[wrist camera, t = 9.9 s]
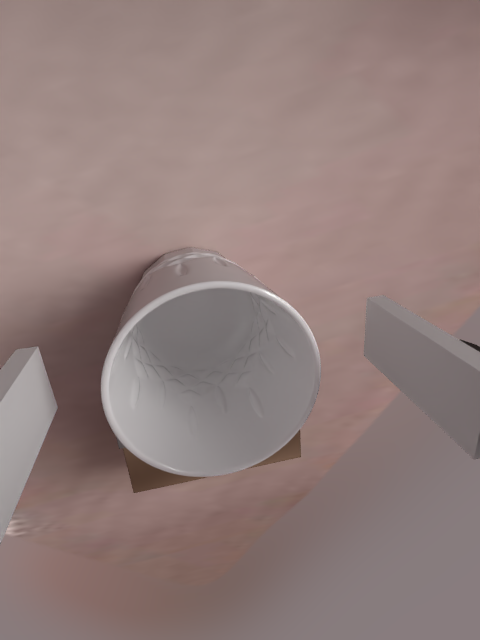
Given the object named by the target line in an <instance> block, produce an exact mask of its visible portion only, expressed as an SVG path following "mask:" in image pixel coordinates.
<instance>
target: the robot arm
mask: <svg viewBox="0 0 480 640" xmlns="http://www.w3.org/2000/svg"><path fill="white" fill-rule="evenodd" d="M364 356H365V357H366V358H367V359H368V360H369V361H370V362H371V363H372V364H373V365H374V366H375V367H376V368H378V369H379V370H380V371H381V372H382V373H383V374H384V375H385V376H386V377H387V378H388V379H389V380H390V381H391V382H392V383H393V384H394V385H396V386H397V387H398V388H399V389H400V390H401V391H402V392H403V393H404V394H405V395H406V396H407V397H408V398H409V399H410V400H411V401H413V402H414V403H415V404H416V405H417V406H418V407H419V408H420V409H421V410H422V411H423V412H424V413H425V414H426V415H427V416H428V417H429V418H430V419H432V420H433V421H434V422H435V423H436V424H437V425H438V426H439V427H440V428H441V429H442V430H443V431H444V432H445V433H446V434H448V435H449V436H450V437H451V438H452V439H453V440H454V441H455V442H456V443H457V444H458V445H459V446H460V447H461V448H462V449H463V450H465V452H466V453H467V454H469V455H470V456H471V457H472V458H473V459H478V458H480V347H479V346H477V345H475V344H472V343H469V342H466V341H463V340H458V339H457V338H455V337H453V336H452V335H450V334H448V333H447V332H445V331H443V330H442V329H440V328H438V327H436V326H435V325H433V324H431V323H430V322H428V321H426V320H425V319H423V318H421V317H420V316H418V315H416V314H414V313H413V312H411V311H409V310H408V309H406V308H404V307H403V306H401V305H399V304H398V303H396V302H394V301H392V300H391V299H389V298H387V297H386V296H384V295H383V296H376V297H369V298H367V305H366V323H365V341H364ZM57 408H58V407H57V404H56V401H55V397H54V394H53V391H52V388H51V385H50V382H49V379H48V376H47V373H46V369H45V366H44V363H43V360H42V357H41V354H40V351H39V348H38V346H36V347H30V348H23V349H16V350H15V352H14V353H13V354H12V355H11V357H10V358H9V359H8V361H7V362H6V363H5V364H4V366H3V367H2V368H1V370H0V544H1V541H2V539H3V537H4V534H5V532H6V530H7V527H8V525H9V522H10V520H11V518H12V515H13V513H14V510H15V508H16V506H17V503H18V501H19V499H20V496H21V494H22V491H23V489H24V487H25V484H26V482H27V480H28V477H29V475H30V472H31V470H32V468H33V465H34V463H35V461H36V458H37V456H38V453H39V451H40V449H41V446H42V444H43V441H44V439H45V437H46V434H47V432H48V430H49V427H50V425H51V422H52V420H53V418H54V415H55V413H56V411H57Z"/></svg>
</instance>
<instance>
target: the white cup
mask: <svg viewBox="0 0 480 640" xmlns="http://www.w3.org/2000/svg"><path fill="white" fill-rule="evenodd" d="M320 378H321V362H320V355H319V350H318V347H317V343H316V341H315V338H314V336H313V334H312V332H311V330H310V328H309V326H308V325H307V323H306V322H305V320H304V319H303V318H302V317H301V315H300V314H299V313H298V312H297V311H296V310H295V309H294V308H293V307H292V306H291V305H290V304H288V303H287V302H286V301H284V300H283V299H282V298H281V297H279V296H278V295H277V294H276V293H274V292H273V291H272V290H271V289H269V288H268V287H267V286H266V285H264V284H263V283H262V282H261V281H260V280H259V279H257V278H256V277H255V276H254V275H252V274H251V273H249V272H248V271H246V270H245V269H243V268H242V267H240V266H239V265H238V264H236V263H234V262H232V261H230V260H228V259H226V258H225V257H223V256H222V255H221V254H219V253H218V252H215V251H210V250H204V249H199V248H193V247H189V248H185V249H181V250H178V251H174V252H170V253H167V254H164V255H163V256H162V257H161V258H159V259H158V260H157V261H156V262H155V263H154V264H153V265H151V266H150V267H149V268H148V269H147V270H146V271H145V272H144V273H143V276H142V278H141V281H140V282H139V284H138V285H137V287H136V288H135V290H134V292H133V294H132V296H131V298H130V300H129V302H128V304H127V306H126V308H125V310H124V312H123V315H122V318H121V321H120V324H119V327H118V329H117V331H116V334H115V336H114V339H113V341H112V344H111V346H110V349H109V351H108V353H107V356H106V359H105V362H104V366H103V370H102V376H101V399H102V405H103V409H104V412H105V415H106V418H107V421H108V423H109V425H110V427H111V429H112V430H113V432H114V434H115V435H116V437H117V438H118V439H119V441H120V442H121V443H122V444H123V445H124V446H125V447H126V448H127V449H128V450H129V451H130V452H131V453H132V454H134V455H135V456H136V457H138V458H139V459H140V460H142V461H144V462H145V463H147V464H149V465H151V466H153V467H155V468H158V469H160V470H163V471H166V472H169V473H173V474H177V475H183V476H192V477H211V476H220V475H225V474H230V473H234V472H237V471H241V470H244V469H246V468H249V467H251V466H254V465H256V464H258V463H260V462H262V461H263V460H265V459H267V458H268V457H270V456H272V455H273V454H274V453H276V452H277V451H279V450H280V449H281V448H282V447H283V446H285V445H286V444H287V443H288V442H289V441H290V440H291V439H292V438H293V437H294V436H295V435H296V433H297V432H298V431H299V430H300V428H301V427H302V426H303V424H304V423H305V421H306V420H307V418H308V416H309V414H310V412H311V410H312V408H313V406H314V404H315V401H316V398H317V395H318V391H319V386H320Z"/></svg>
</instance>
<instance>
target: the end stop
mask: <svg viewBox="0 0 480 640" xmlns="http://www.w3.org/2000/svg"><path fill="white" fill-rule="evenodd" d="M116 438H117V437H116ZM117 442H118V446H119V449H120V448H123V451H124V455H125V459H126V463H127V467H128V471H129V475H130V479H131V484H132V488H133V492H134V493H137V492H141V491H146V490H151V489H155V488H160V487H165V486H169V485H174V484H178V483H183V482H188V481H192V480H197V479H201V478H206V477H192V476H183V475H177V474H173V473H169V472H166V471H163V470H160V469H158V468H155V467H153V466H151V465H149V464H147V463H145V462H144V461H142V460H140V459H139V458H138V457H136V456H135V455H134V454H132V453H131V452H130V451H129V450H128V449H127V448H126V447H125V446H124V445H123V444H122V443H121V442H120V441H119V439H118V438H117ZM298 457H301V445H300V430H299V431H298V432H297V433H296V435H295V436H294V437H293V438H292V439H291V440H290V441H289V442H288V443H287V444H286V445H285V446H283V447H282V448H281V449H280V450H279V451H277V452H276V453H274V454H273V455H272V456H270V457H268V458H267V459H265V460H263V461H262V462H260V463H258V464H256V465H254V466H251V467H249V468H252V467H257V466H262V465H266V464H271V463H275V462H280V461H285V460H289V459H294V458H298ZM246 469H248V468H246Z"/></svg>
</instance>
